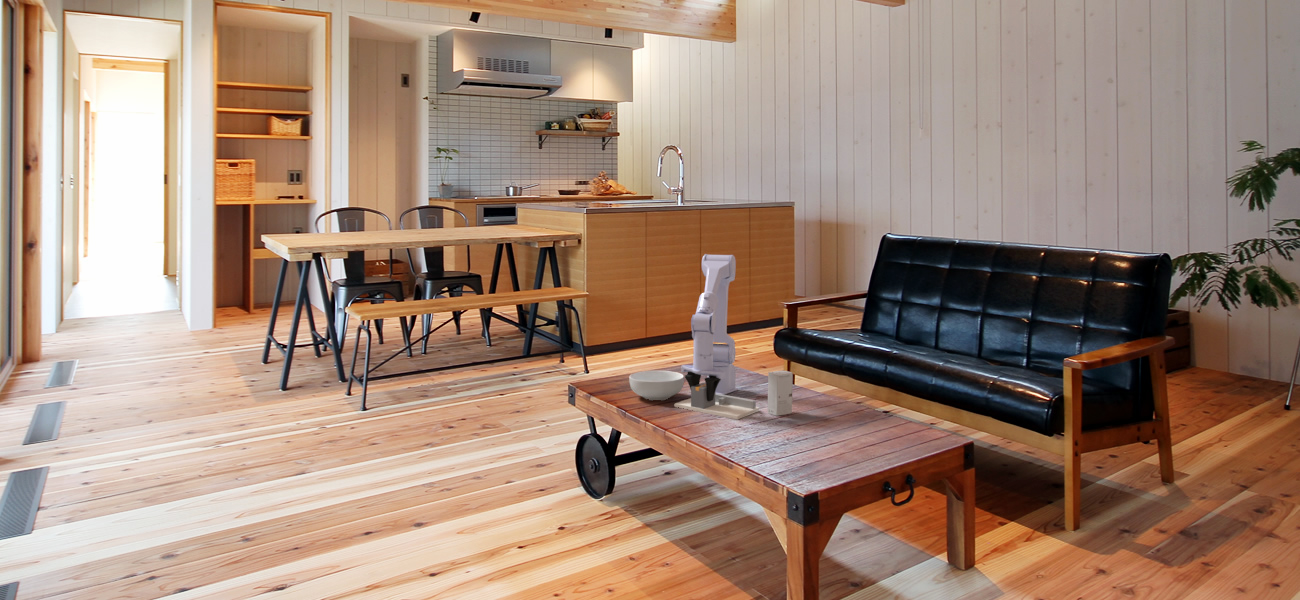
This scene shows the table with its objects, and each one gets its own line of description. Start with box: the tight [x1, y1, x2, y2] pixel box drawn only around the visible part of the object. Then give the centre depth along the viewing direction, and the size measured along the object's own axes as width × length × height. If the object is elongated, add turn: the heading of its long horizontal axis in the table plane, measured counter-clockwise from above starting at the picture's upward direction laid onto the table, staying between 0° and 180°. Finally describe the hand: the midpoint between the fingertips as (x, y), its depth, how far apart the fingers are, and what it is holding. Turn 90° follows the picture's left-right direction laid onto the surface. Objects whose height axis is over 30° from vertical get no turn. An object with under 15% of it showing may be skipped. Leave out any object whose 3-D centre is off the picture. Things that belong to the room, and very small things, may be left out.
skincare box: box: [767, 369, 794, 417], centre depth 245 cm, size 6×4×12 cm
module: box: [690, 382, 715, 409], centre depth 250 cm, size 6×4×6 cm
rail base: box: [674, 393, 760, 420], centre depth 251 cm, size 12×22×3 cm, turn 52°
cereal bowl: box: [628, 370, 685, 401], centre depth 264 cm, size 17×17×7 cm
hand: (702, 399), depth 250 cm, fingers open, 5 cm apart
